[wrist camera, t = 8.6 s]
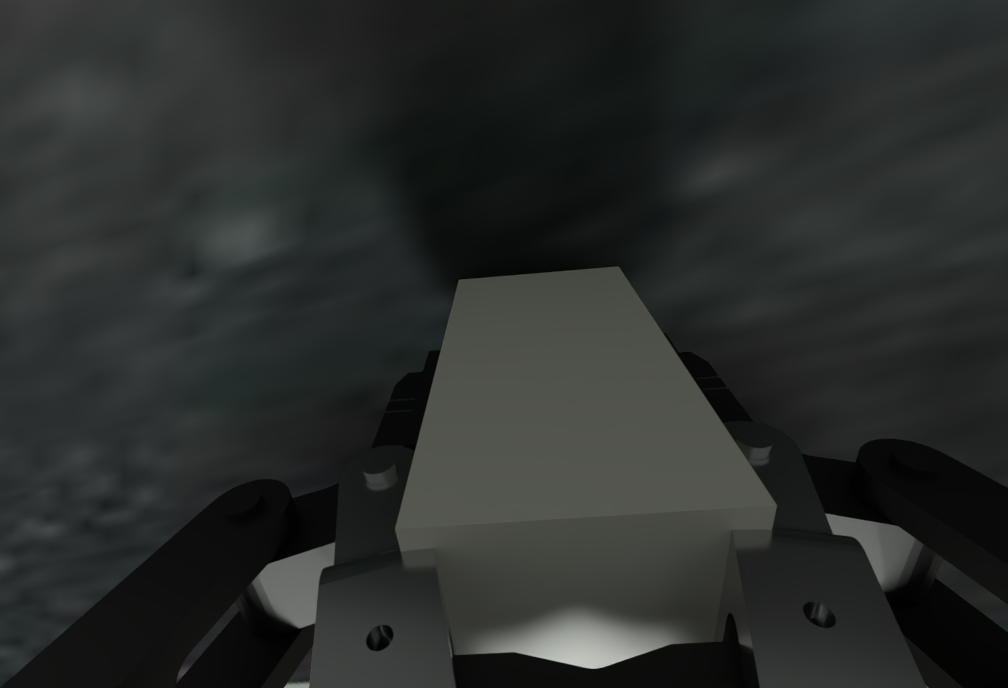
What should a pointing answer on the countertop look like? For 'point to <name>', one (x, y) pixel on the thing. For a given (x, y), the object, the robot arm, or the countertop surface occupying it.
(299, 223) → the countertop surface
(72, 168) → the countertop surface
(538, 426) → the grey l-shaped block
